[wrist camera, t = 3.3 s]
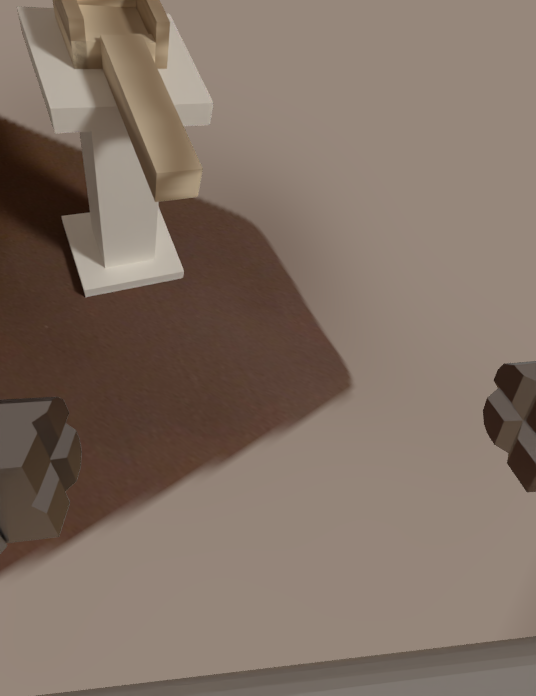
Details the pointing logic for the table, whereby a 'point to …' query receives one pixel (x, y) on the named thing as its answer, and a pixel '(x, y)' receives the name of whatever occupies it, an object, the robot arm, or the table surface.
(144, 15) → the scoop
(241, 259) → the table surface
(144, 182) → the pedestal shelf
